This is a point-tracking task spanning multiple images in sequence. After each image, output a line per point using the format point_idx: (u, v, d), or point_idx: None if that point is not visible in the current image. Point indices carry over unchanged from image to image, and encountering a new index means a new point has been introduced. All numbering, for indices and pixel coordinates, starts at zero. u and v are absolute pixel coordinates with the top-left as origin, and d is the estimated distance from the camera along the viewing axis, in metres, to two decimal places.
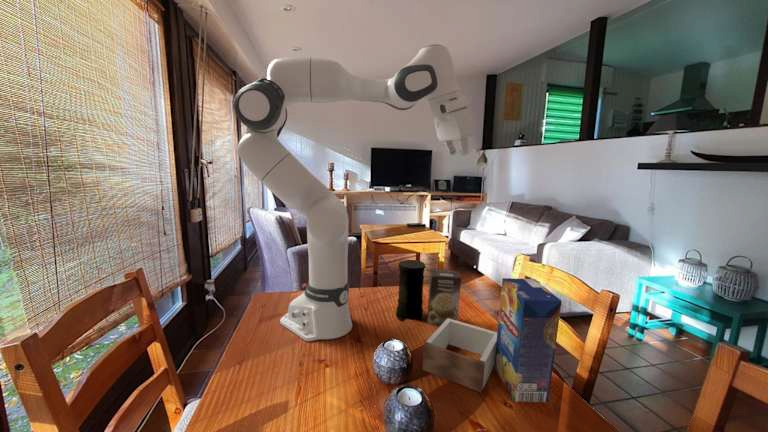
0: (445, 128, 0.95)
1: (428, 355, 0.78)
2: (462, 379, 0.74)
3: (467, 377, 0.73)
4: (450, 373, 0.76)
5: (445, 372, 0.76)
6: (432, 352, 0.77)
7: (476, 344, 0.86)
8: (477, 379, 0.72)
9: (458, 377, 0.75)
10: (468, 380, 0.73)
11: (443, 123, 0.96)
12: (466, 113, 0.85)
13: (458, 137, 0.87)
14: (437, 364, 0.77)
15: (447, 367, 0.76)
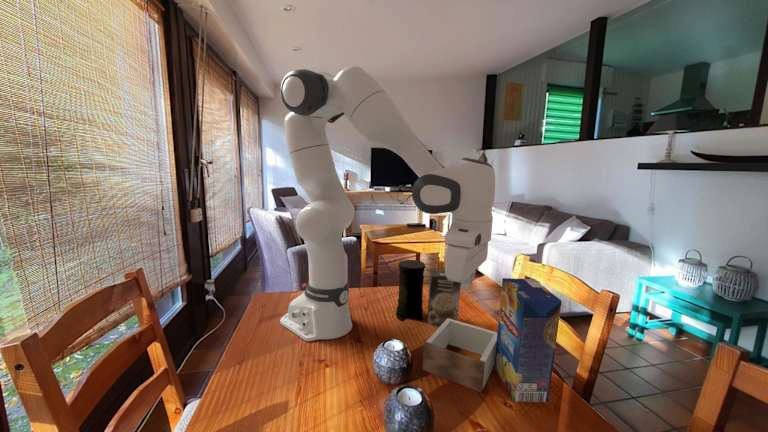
0: None
1: (428, 355, 0.78)
2: (462, 379, 0.74)
3: (467, 377, 0.73)
4: (450, 373, 0.76)
5: (445, 372, 0.76)
6: (432, 352, 0.77)
7: (476, 344, 0.86)
8: (477, 379, 0.72)
9: (458, 377, 0.75)
10: (468, 380, 0.73)
11: None
12: (461, 255, 0.68)
13: None
14: (437, 364, 0.77)
15: (447, 367, 0.76)
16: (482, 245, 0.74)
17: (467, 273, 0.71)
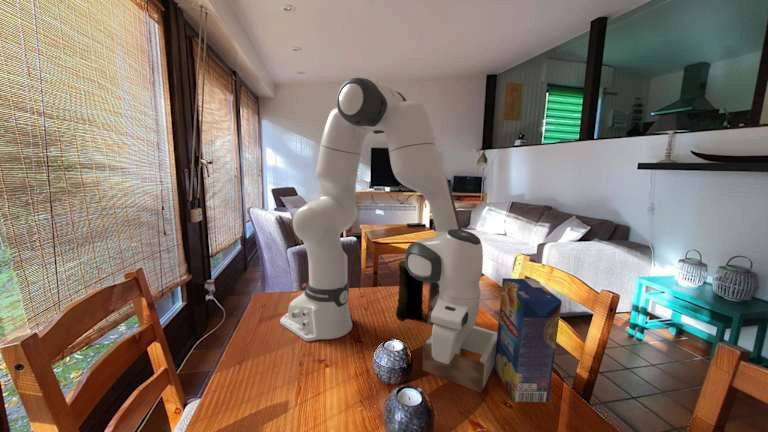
0: None
1: (427, 356, 0.78)
2: (462, 380, 0.74)
3: (467, 378, 0.73)
4: (450, 373, 0.76)
5: (445, 373, 0.76)
6: (431, 353, 0.77)
7: (476, 344, 0.86)
8: (477, 380, 0.72)
9: (458, 378, 0.75)
10: (468, 381, 0.73)
11: None
12: (448, 337, 0.66)
13: None
14: (437, 365, 0.77)
15: (447, 368, 0.76)
16: (469, 319, 0.72)
17: (454, 352, 0.69)
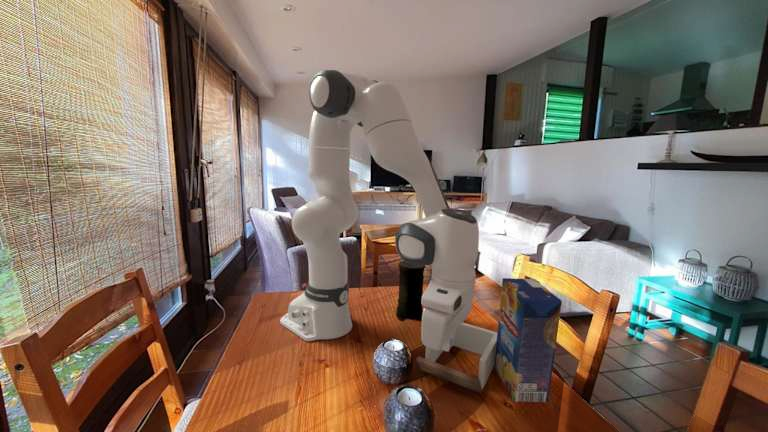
0: None
1: (424, 366, 0.76)
2: (461, 385, 0.74)
3: (465, 385, 0.73)
4: (448, 379, 0.75)
5: (444, 378, 0.76)
6: (426, 366, 0.75)
7: (476, 344, 0.86)
8: (475, 388, 0.71)
9: (457, 383, 0.74)
10: (467, 387, 0.73)
11: None
12: (439, 322, 0.62)
13: None
14: (434, 372, 0.76)
15: (444, 376, 0.75)
16: (463, 305, 0.68)
17: (445, 338, 0.65)
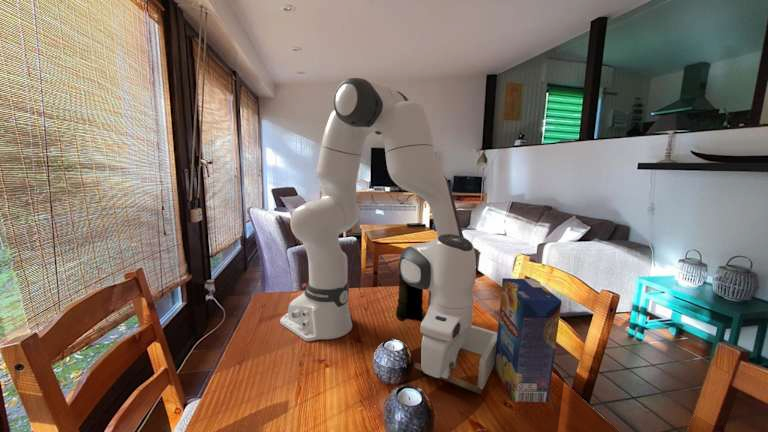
0: None
1: (422, 371, 0.76)
2: (461, 386, 0.74)
3: None
4: (448, 381, 0.75)
5: None
6: None
7: (476, 344, 0.86)
8: (474, 391, 0.71)
9: None
10: None
11: None
12: (438, 350, 0.62)
13: None
14: None
15: (444, 379, 0.75)
16: (462, 330, 0.68)
17: (445, 365, 0.65)
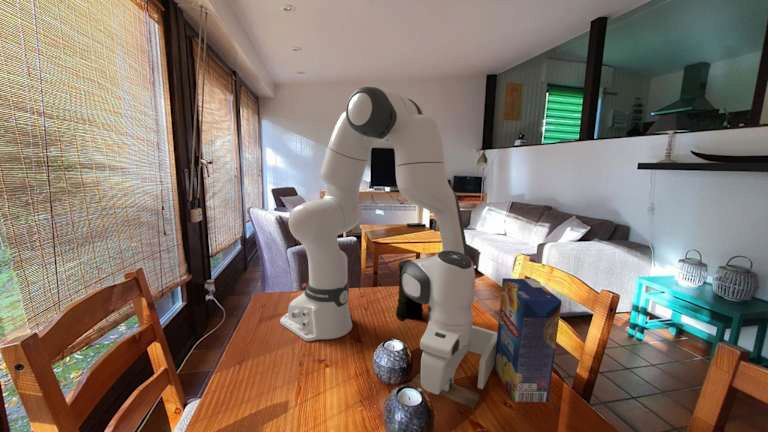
0: None
1: None
2: None
3: None
4: None
5: None
6: None
7: (476, 344, 0.86)
8: None
9: None
10: None
11: None
12: (437, 367, 0.63)
13: None
14: None
15: None
16: None
17: (445, 381, 0.66)
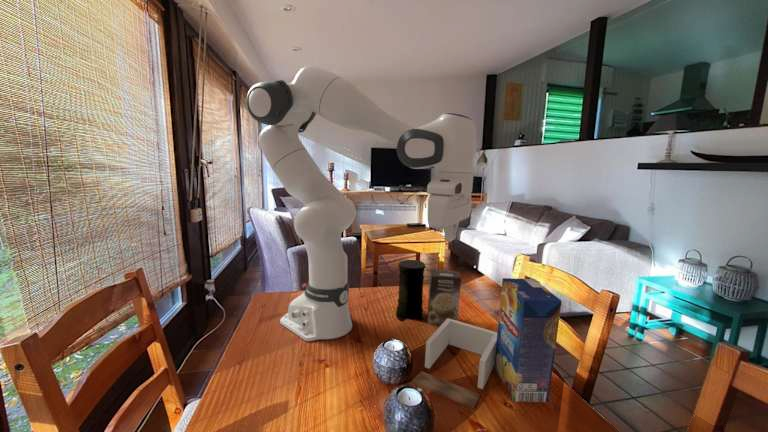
0: None
1: None
2: None
3: None
4: None
5: None
6: None
7: (476, 344, 0.86)
8: None
9: None
10: None
11: None
12: (442, 202, 0.72)
13: None
14: None
15: None
16: (463, 197, 0.78)
17: (448, 221, 0.75)
